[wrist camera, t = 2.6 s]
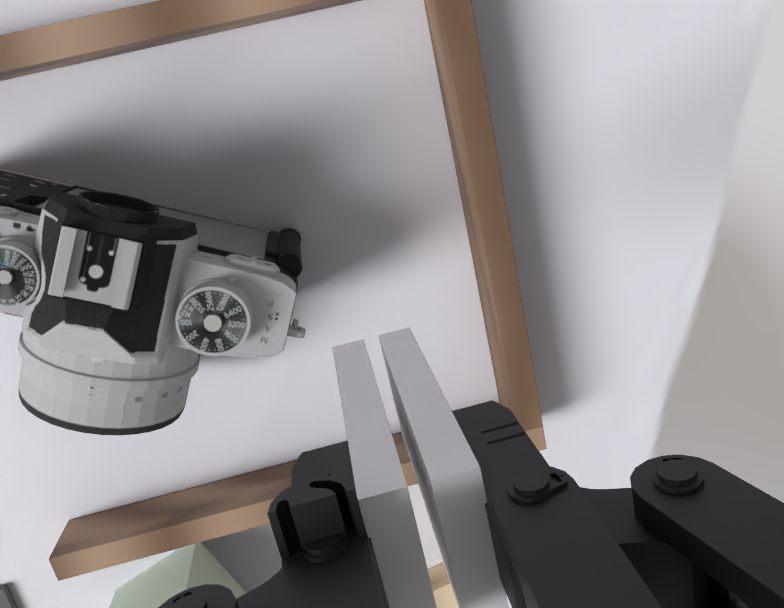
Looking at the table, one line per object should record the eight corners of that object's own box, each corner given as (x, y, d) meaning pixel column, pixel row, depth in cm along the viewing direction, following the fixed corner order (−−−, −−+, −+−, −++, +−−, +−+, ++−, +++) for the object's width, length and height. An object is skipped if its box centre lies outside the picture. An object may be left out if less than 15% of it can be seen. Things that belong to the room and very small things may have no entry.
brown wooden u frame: (77, 540, 35) (58, 580, 32) (-121, 74, 28) (-168, 72, 25) (526, 420, 36) (546, 448, 34) (443, -50, 30) (459, -66, 27)
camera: (-72, 328, 31) (-231, 431, 22) (-51, 124, 29) (-217, 140, 19) (277, 393, 34) (271, 508, 25) (319, 213, 32) (331, 264, 23)
